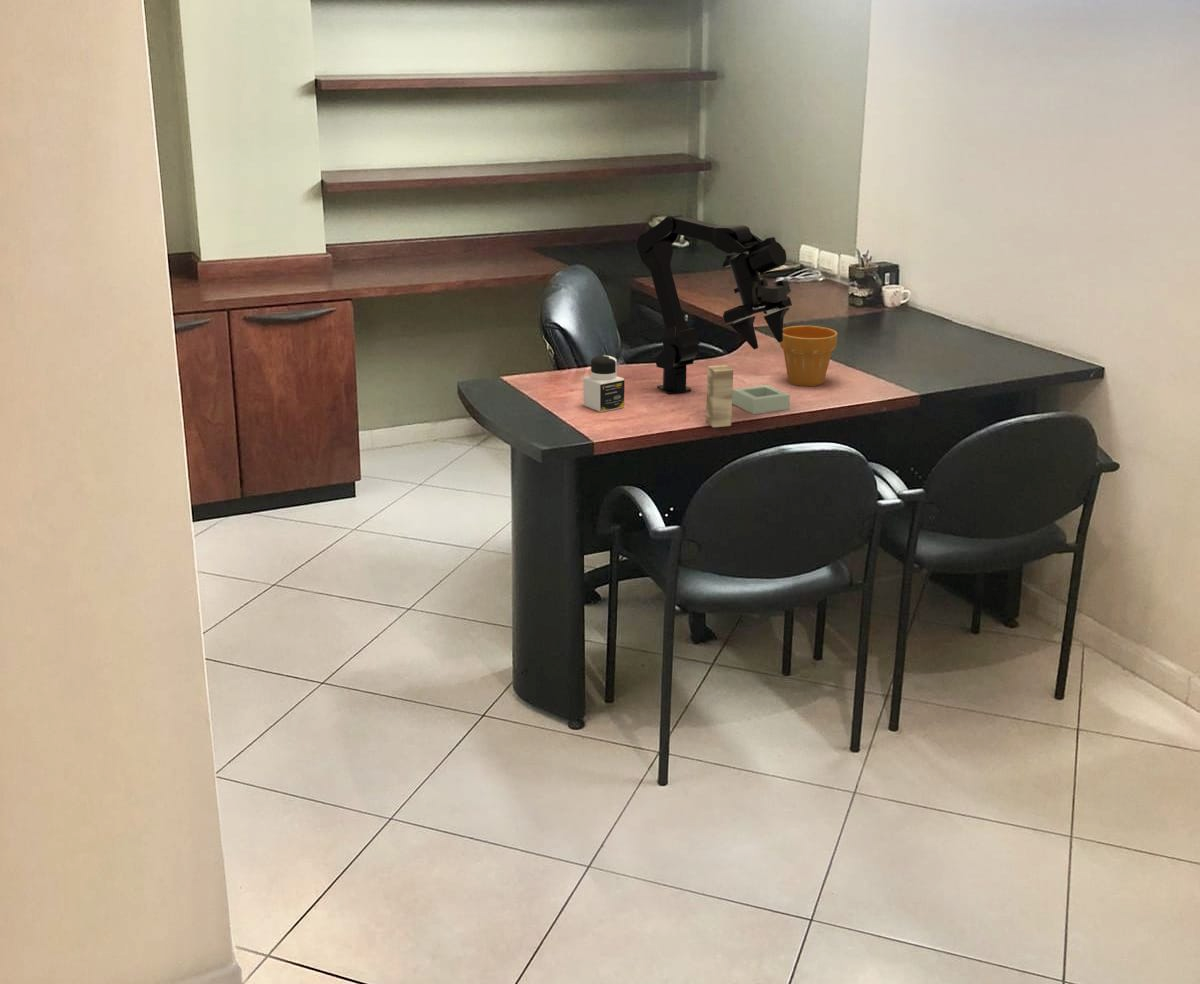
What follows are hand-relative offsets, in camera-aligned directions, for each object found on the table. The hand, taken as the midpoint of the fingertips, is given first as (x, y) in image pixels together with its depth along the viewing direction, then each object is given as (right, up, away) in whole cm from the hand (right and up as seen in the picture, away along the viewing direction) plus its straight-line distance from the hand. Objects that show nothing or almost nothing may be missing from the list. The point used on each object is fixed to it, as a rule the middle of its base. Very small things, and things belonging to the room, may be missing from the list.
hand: (768, 345), depth 280 cm
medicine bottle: (-38, -13, +11) cm, 41 cm away
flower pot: (+14, -6, +31) cm, 35 cm away
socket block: (-1, -13, +11) cm, 17 cm away
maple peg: (-12, -18, -2) cm, 22 cm away
